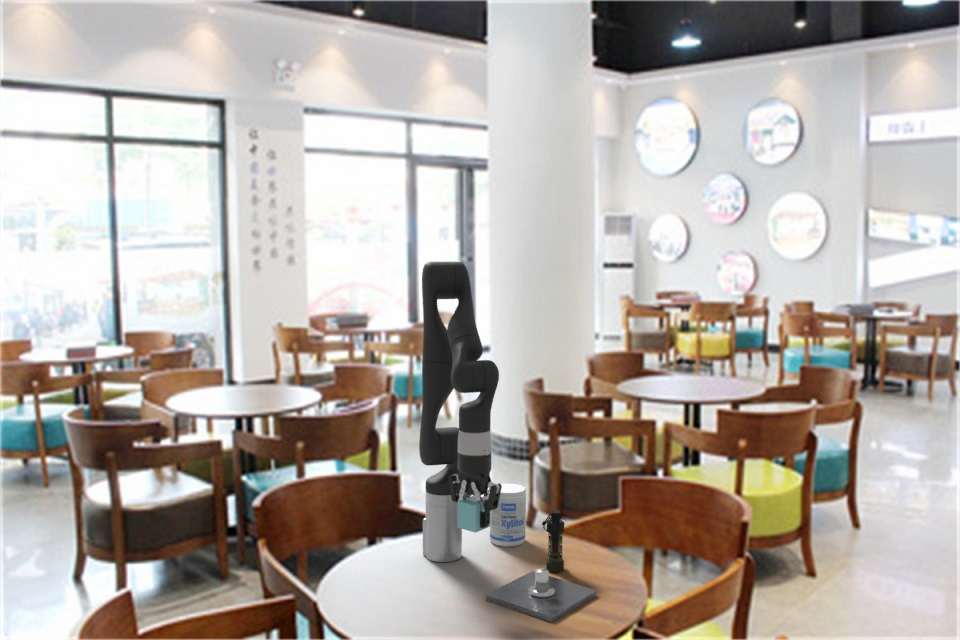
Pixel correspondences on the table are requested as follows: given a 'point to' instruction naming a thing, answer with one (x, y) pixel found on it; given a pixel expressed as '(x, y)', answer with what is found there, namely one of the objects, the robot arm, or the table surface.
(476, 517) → the teal cube with window
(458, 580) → the table surface
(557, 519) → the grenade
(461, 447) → the robot arm
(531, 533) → the table surface
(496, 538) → the supplement tub
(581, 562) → the table surface
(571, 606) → the post base
